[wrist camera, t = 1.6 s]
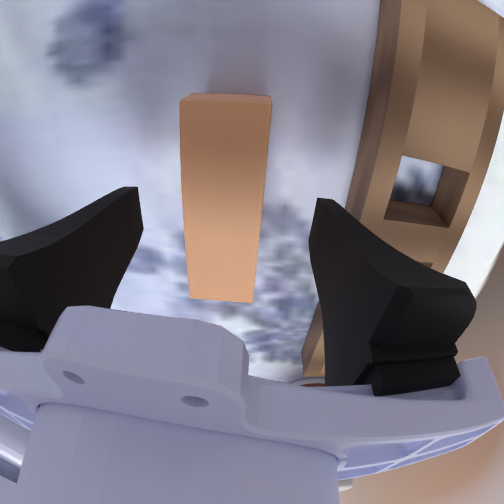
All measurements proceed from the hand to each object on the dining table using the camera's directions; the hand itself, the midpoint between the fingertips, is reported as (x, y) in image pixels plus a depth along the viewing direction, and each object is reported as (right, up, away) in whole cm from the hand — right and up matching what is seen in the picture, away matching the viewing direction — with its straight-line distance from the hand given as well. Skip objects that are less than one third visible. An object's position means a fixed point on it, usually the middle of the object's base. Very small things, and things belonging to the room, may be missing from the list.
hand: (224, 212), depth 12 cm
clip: (0, +3, +4) cm, 5 cm away
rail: (+10, 0, +5) cm, 11 cm away
